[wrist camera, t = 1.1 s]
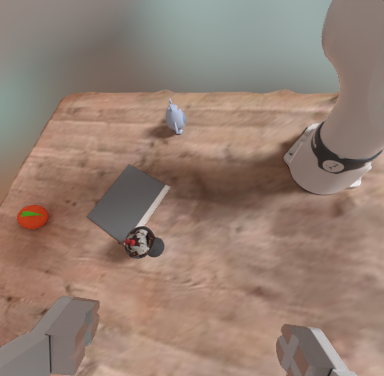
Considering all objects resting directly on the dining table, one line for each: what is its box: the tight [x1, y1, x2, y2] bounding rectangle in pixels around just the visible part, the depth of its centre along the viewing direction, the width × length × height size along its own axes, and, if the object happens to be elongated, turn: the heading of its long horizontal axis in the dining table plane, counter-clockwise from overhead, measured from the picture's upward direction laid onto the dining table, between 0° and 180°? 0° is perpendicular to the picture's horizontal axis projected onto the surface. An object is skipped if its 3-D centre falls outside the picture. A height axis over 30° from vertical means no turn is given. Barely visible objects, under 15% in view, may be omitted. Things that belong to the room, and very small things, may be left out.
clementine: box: [17, 205, 48, 229], centre depth 55 cm, size 8×7×7 cm
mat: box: [87, 165, 170, 245], centre depth 56 cm, size 20×17×1 cm
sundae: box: [118, 226, 164, 258], centre depth 42 cm, size 7×7×15 cm
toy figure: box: [166, 98, 186, 134], centre depth 58 cm, size 11×6×12 cm, turn 6°
